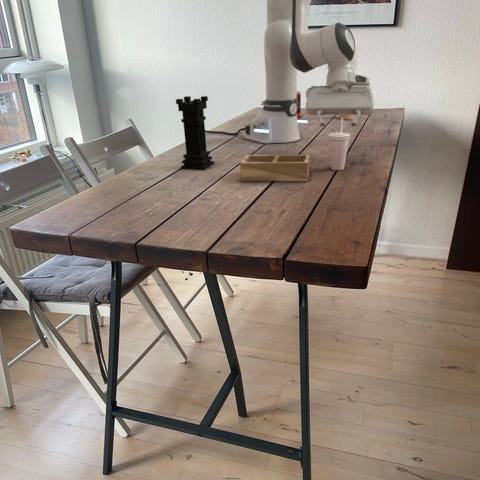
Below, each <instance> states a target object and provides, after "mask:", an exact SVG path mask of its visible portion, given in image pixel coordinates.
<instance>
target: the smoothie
mask: <svg viewBox="0 0 480 480" xmlns="http://www.w3.org/2000/svg"><path fill="white" fill-rule="evenodd" d="M343 127H344V119H343V118H341V119H340V131H338V132H337V131H336V132H331V133H328V135H327V139H328V142H329V145H328V146H329V156H330V169H331V170H333V171H342V170H344V169H345V165H346V159H347V153H348V149H349V148H348V147H349V143H350V142H349V141H350V139H351V133H349V132H343V129H344V128H343Z"/></svg>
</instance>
